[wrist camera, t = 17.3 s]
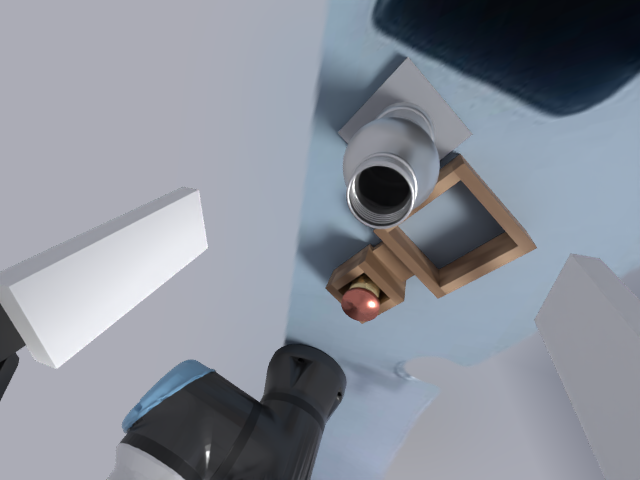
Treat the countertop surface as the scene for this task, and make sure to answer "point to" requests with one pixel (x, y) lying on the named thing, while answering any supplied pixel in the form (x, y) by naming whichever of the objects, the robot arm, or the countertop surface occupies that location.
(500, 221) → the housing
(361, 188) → the plastic bottle
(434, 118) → the pad
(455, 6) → the countertop surface
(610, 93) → the countertop surface
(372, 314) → the copper-capped cylinder
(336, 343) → the countertop surface
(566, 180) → the countertop surface
